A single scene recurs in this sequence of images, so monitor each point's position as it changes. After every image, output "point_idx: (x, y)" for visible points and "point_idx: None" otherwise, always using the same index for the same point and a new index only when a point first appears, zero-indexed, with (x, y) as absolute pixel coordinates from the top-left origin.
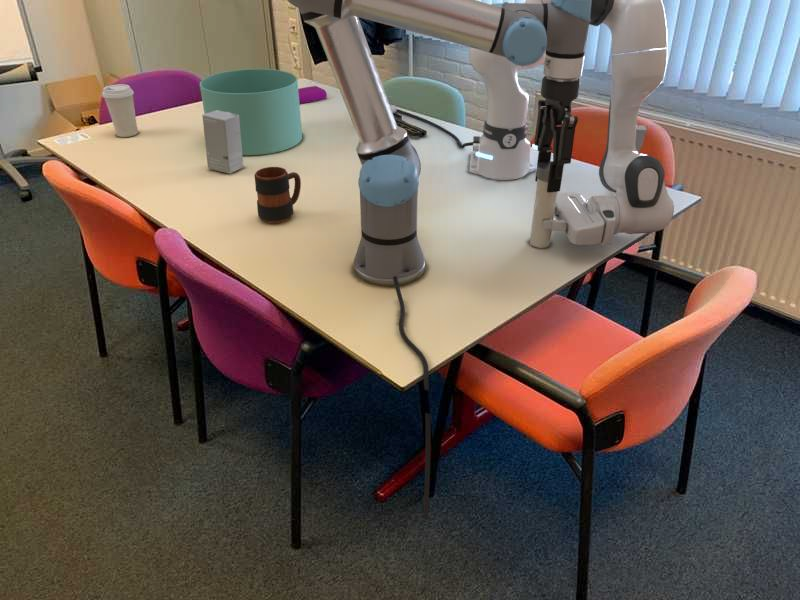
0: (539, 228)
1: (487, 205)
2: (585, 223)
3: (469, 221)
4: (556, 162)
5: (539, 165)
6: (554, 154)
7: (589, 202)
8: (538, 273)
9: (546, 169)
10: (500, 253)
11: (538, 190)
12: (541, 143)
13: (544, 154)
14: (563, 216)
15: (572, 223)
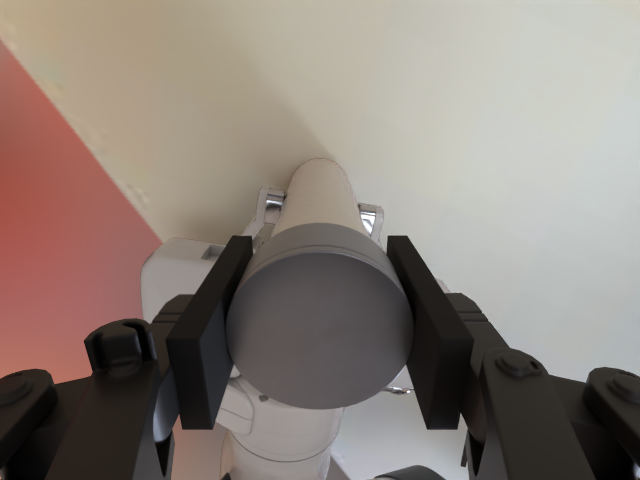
0: (292, 182)
1: (624, 128)
2: None
3: (543, 8)
4: (99, 373)
5: (345, 270)
6: (107, 423)
7: None
8: (146, 106)
9: (249, 285)
10: (285, 33)
11: (307, 209)
12: (496, 430)
13: (430, 369)
14: None
15: (192, 271)
